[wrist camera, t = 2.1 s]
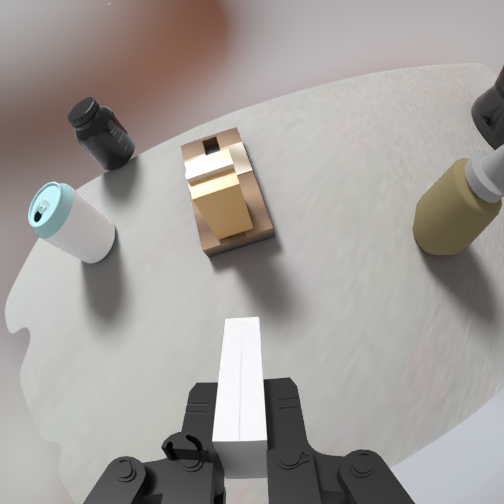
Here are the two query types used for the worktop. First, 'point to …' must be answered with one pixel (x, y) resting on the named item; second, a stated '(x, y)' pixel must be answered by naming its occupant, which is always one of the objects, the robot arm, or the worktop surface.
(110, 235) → the can
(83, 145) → the supplement bottle
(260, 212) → the console
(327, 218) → the worktop surface
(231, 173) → the fader tab
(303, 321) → the worktop surface
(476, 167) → the squeeze bottle
